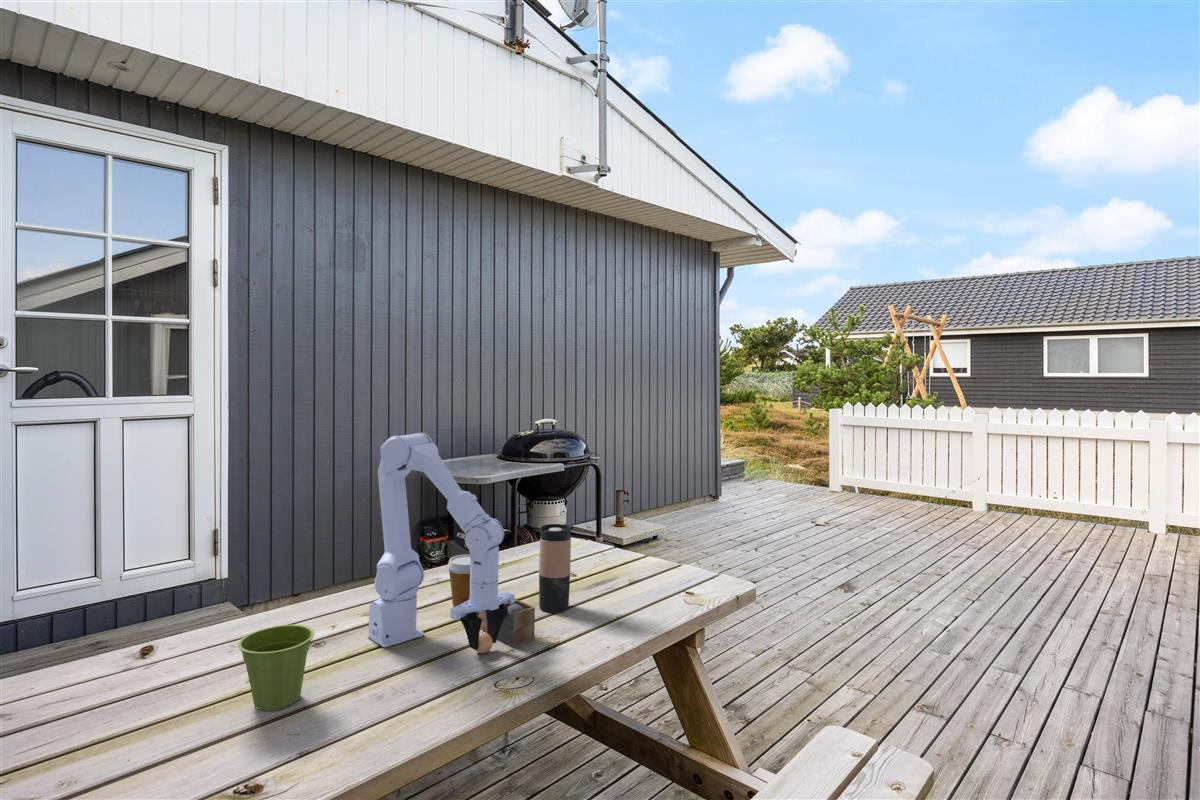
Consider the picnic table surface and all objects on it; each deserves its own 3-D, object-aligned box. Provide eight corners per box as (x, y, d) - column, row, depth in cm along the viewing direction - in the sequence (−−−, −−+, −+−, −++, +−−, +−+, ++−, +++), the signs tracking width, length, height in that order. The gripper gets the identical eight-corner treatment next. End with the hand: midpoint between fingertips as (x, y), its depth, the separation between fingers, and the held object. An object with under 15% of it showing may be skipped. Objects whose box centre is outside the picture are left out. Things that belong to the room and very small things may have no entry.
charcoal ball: (508, 629, 139) (515, 622, 136) (499, 612, 140) (506, 605, 138) (523, 621, 142) (530, 615, 139) (514, 605, 143) (521, 598, 140)
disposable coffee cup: (464, 618, 151) (465, 568, 151) (438, 608, 157) (438, 559, 156) (494, 607, 159) (495, 559, 158) (468, 598, 164) (469, 551, 164)
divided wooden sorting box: (511, 647, 136) (512, 614, 136) (478, 630, 145) (479, 599, 144) (534, 639, 141) (534, 607, 140) (500, 623, 149) (501, 593, 149)
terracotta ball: (480, 658, 131) (480, 639, 130) (469, 652, 133) (469, 633, 133) (496, 652, 134) (496, 633, 133) (485, 646, 136) (485, 628, 136)
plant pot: (294, 678, 121) (294, 618, 120) (326, 700, 113) (327, 636, 113) (225, 702, 112) (225, 638, 111) (255, 727, 104) (256, 659, 103)
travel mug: (571, 603, 163) (573, 524, 162) (566, 614, 155) (568, 532, 154) (541, 601, 164) (543, 523, 163) (535, 612, 156) (537, 530, 155)
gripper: (465, 593, 125) (464, 662, 125) (524, 577, 135) (522, 640, 136) (445, 583, 130) (444, 650, 130) (503, 569, 140) (502, 630, 141)
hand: (482, 644), depth 133 cm, fingers closed on terracotta ball, 4 cm apart
